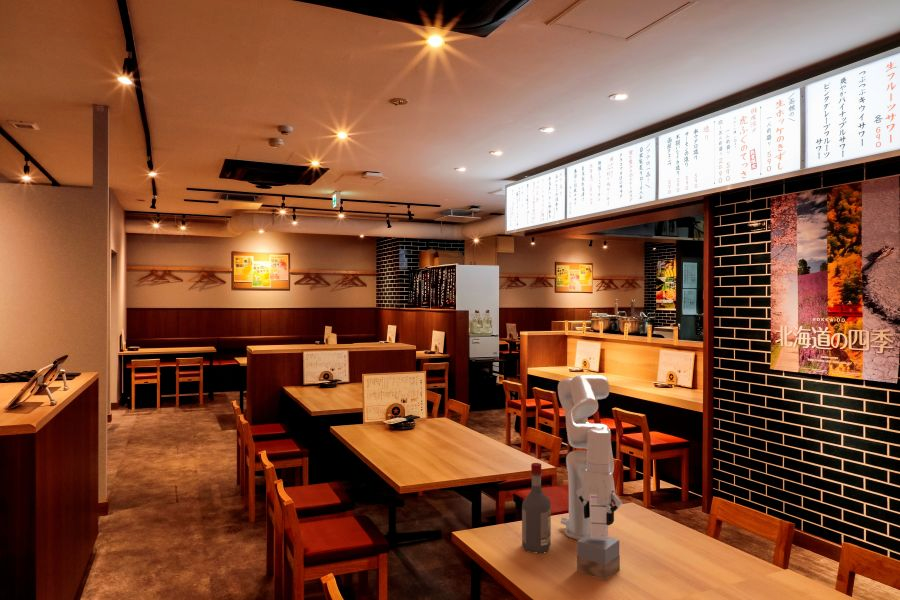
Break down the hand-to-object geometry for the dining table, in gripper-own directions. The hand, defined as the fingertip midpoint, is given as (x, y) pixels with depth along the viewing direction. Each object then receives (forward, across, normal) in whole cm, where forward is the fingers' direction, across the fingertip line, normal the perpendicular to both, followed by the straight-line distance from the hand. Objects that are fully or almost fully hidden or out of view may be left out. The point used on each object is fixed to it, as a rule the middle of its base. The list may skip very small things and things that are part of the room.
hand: (598, 520), depth 191 cm
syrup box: (+5, 0, 0) cm, 5 cm away
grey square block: (+12, 0, 0) cm, 12 cm away
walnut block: (+17, 0, 0) cm, 17 cm away
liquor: (+17, -25, 0) cm, 30 cm away
